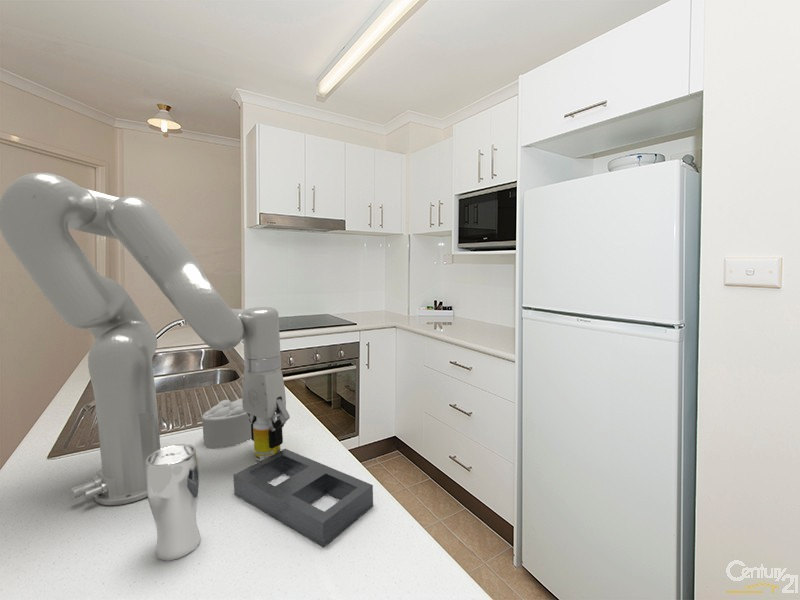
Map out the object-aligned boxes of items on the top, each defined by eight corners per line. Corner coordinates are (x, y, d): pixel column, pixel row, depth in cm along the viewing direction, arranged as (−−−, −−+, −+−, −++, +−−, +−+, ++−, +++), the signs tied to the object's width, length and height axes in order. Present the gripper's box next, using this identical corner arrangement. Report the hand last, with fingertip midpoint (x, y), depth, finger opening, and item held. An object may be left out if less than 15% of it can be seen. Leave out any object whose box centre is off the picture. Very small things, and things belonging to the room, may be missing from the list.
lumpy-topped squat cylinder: (266, 434, 99) (264, 401, 98) (214, 453, 89) (212, 417, 88) (245, 423, 106) (244, 392, 105) (196, 440, 96) (193, 406, 95)
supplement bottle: (280, 460, 85) (278, 416, 84) (253, 464, 84) (250, 419, 83) (281, 448, 91) (279, 406, 90) (256, 452, 89) (253, 409, 88)
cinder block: (323, 547, 59) (322, 522, 59) (234, 494, 73) (233, 474, 73) (373, 506, 69) (372, 485, 69) (286, 466, 83) (285, 448, 82)
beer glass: (211, 529, 64) (205, 442, 62) (190, 562, 57) (182, 465, 55) (168, 531, 63) (161, 443, 62) (141, 564, 57) (132, 467, 55)
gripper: (225, 361, 87) (230, 438, 89) (273, 374, 77) (277, 460, 79) (254, 354, 93) (258, 427, 95) (302, 365, 83) (305, 445, 85)
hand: (267, 441), depth 87 cm, fingers closed on supplement bottle, 5 cm apart
